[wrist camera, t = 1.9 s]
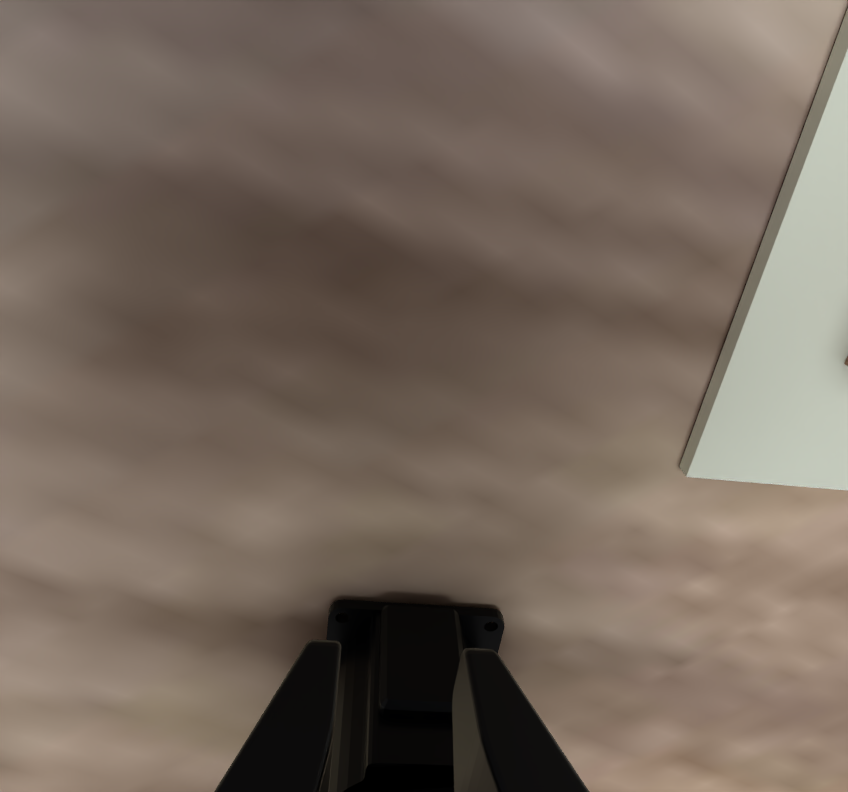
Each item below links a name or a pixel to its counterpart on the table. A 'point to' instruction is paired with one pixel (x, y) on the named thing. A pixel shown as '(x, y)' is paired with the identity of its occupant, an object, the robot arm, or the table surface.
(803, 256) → the letter board
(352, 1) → the table surface
